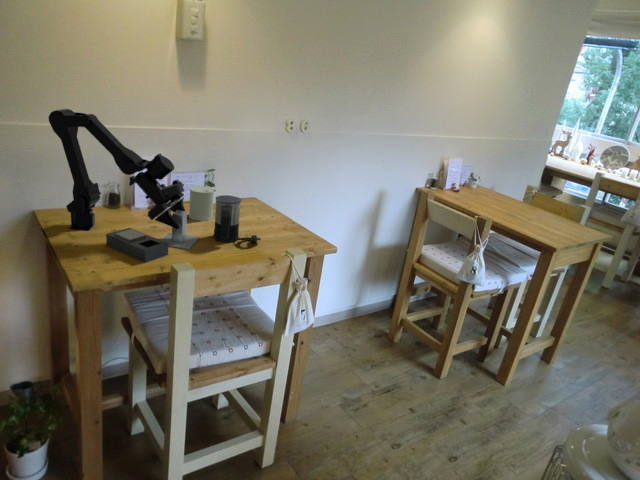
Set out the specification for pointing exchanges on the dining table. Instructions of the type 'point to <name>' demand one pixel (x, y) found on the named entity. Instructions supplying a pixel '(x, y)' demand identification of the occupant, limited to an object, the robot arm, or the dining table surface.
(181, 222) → the grey rectangular block
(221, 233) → the milk frother
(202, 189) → the can
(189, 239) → the mat
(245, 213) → the dining table surface
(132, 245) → the dark grey socket base
